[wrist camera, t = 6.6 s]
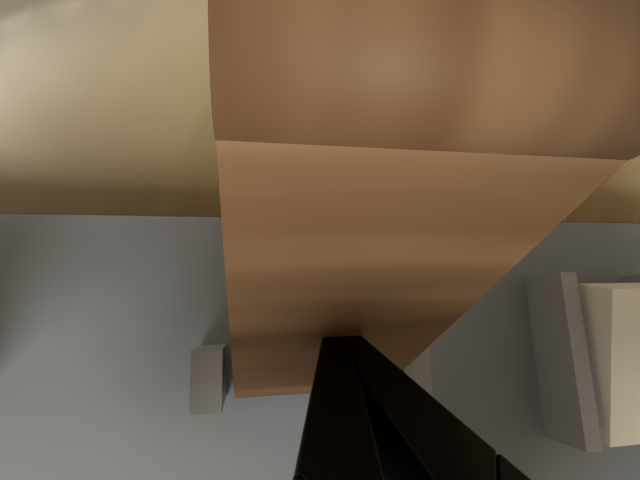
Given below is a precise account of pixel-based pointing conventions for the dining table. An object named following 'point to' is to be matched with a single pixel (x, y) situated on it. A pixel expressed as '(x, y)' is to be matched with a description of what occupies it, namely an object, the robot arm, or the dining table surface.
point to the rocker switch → (614, 357)
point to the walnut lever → (401, 160)
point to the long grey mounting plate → (216, 361)
